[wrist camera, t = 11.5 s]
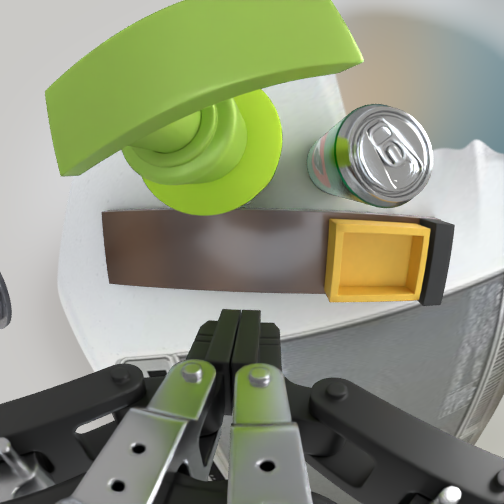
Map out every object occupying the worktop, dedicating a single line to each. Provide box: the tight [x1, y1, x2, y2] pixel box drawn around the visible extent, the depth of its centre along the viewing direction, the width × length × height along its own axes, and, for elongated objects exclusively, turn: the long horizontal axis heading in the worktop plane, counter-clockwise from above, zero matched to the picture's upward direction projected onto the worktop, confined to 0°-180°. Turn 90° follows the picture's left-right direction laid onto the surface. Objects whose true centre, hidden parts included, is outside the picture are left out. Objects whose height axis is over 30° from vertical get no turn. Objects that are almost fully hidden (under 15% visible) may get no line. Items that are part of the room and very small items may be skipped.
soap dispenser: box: [45, 0, 364, 216], centre depth 13 cm, size 6×7×20 cm
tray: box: [324, 219, 430, 302], centre depth 21 cm, size 8×6×3 cm
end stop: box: [418, 218, 455, 306], centre depth 21 cm, size 2×7×3 cm, turn 0°
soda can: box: [307, 104, 433, 208], centre depth 16 cm, size 5×5×12 cm
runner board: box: [102, 208, 440, 294], centre depth 24 cm, size 31×7×1 cm, turn 90°
